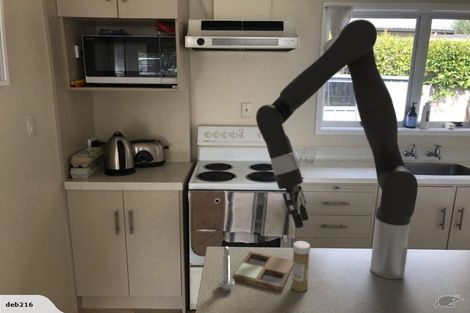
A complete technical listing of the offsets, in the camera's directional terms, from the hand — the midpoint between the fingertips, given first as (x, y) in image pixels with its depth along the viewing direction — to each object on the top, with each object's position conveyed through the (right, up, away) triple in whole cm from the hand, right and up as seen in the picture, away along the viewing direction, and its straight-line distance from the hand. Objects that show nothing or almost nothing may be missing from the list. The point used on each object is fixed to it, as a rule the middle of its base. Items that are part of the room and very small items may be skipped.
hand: (302, 223), depth 99 cm
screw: (-22, -18, -3) cm, 29 cm away
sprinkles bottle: (-1, -18, -3) cm, 18 cm away
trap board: (-11, -16, +5) cm, 20 cm away
